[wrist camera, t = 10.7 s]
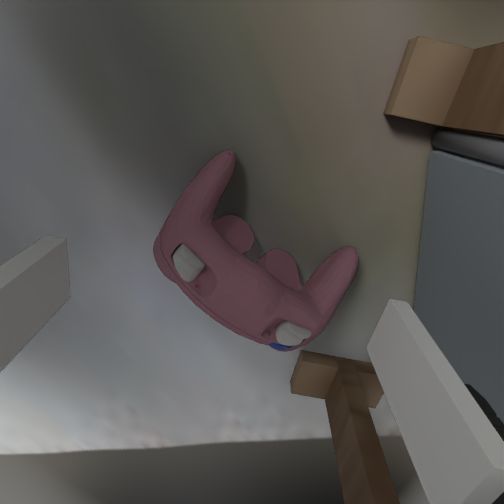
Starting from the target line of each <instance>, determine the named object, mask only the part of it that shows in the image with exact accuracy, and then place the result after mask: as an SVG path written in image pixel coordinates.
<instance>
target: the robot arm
mask: <svg viewBox="0 0 504 504" xmlns="http://www.w3.org/2000/svg"><path fill="white" fill-rule="evenodd" d="M70 297H71V296H70V282H69V268H68V255H67V241H66V239H65V238H59V237H54V236H48V235H45V236H44V237H42V238H41V239H40V240H38V241H37V242H35V243H34V244H32V245H31V246H29V247H28V248H26V249H25V250H23V251H22V252H20V253H19V254H17V255H16V256H14V257H13V258H11V259H10V260H8V261H7V262H5V263H4V264H2V265H1V266H0V372H1V371H2V370H3V369H4V368H5V367H6V366H7V365H8V364H9V363H10V362H11V360H12V359H13V358H14V357H15V356H16V355H17V354H18V353H19V352H20V351H21V350H22V349H23V347H24V346H25V345H26V344H27V343H28V342H29V341H30V340H31V339H32V338H33V337H34V336H35V335H36V333H37V332H38V331H39V330H40V329H41V328H42V327H43V326H44V325H45V324H46V323H47V322H48V320H49V319H50V318H51V317H52V316H53V315H54V314H55V313H56V312H57V311H58V310H59V309H60V308H61V306H62V305H63V304H64V303H65V302H66V301H67V300H68V299H69V298H70ZM366 349H367V352H368V354H369V357H370V359H371V361H372V364H373V366H374V369H375V371H376V374H377V376H378V379H379V381H380V384H381V386H382V388H383V391H384V393H385V396H386V398H387V401H388V403H389V406H390V408H391V411H392V413H393V415H394V418H395V420H396V423H397V425H398V428H399V430H400V433H401V435H402V437H403V440H404V442H405V445H406V447H407V450H408V452H409V455H410V457H411V459H412V462H413V465H414V467H415V469H416V472H417V474H418V477H419V479H420V482H421V484H422V486H423V489H424V492H425V494H426V496H427V499H428V501H429V504H504V424H503V422H502V421H501V420H500V418H499V417H497V416H496V415H497V414H496V413H495V411H494V410H493V409H492V407H491V406H490V404H489V403H488V402H487V400H486V399H485V398H484V397H483V396H482V395H481V394H480V393H479V392H478V391H476V390H475V389H474V388H473V387H472V386H471V385H470V384H464V383H463V382H462V380H461V379H460V378H459V376H458V375H457V373H456V372H455V370H454V369H453V367H452V366H451V365H450V363H449V362H448V360H447V359H446V357H445V356H444V354H443V353H442V352H441V350H440V349H439V347H438V346H437V344H436V343H435V341H434V340H433V338H432V337H431V336H430V334H429V333H428V331H427V330H426V328H425V327H424V325H423V324H422V323H421V321H420V320H419V318H418V317H417V315H416V314H415V312H414V311H413V310H412V308H411V307H410V305H409V304H408V302H405V301H399V300H394V299H389V301H388V303H387V305H386V307H385V310H384V312H383V314H382V316H381V318H380V320H379V322H378V324H377V326H376V328H375V330H374V332H373V334H372V337H371V339H370V341H369V343H368V345H367V347H366Z"/></svg>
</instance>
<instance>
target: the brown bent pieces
mask: <svg viewBox="0 0 504 504" xmlns="http://www.w3.org/2000/svg"><path fill="white" fill-rule="evenodd" d="M384 114H387V115H392V116H396V117H401V118H405V119H410V120H414V121H418V122H423V123H427V124H432V125H436V126H441V127H445V128H450V129H454V130H459V131H465V132H471V133H478V134H484V135H491V136H498V137H504V42H502V43H498V44H494V45H490V46H486V47H482V48H478V49H471V48H467V47H462V46H458V45H454V44H450V43H446V42H441V41H437V40H433V39H429V38H424V37H420V36H418V37H416V38H413V39H411V40H409V42H408V45H407V48H406V51H405V54H404V56H403V59H402V62H401V65H400V68H399V71H398V74H397V77H396V79H395V82H394V85H393V88H392V91H391V94H390V97H389V100H388V102H387V105H386V108H385V111H384ZM290 384H291V393H293V394H299V395H304V396H310V397H315V398H321V399H325V402H326V407H327V413H328V418H329V423H330V428H331V434H332V439H333V444H334V449H335V454H336V460H337V465H338V470H339V475H340V481H341V486H342V491H343V496H344V502H345V504H399V501H398V498H397V495H396V491H395V488H394V485H393V482H392V479H391V476H390V473H389V470H388V467H387V464H386V461H385V458H384V455H383V452H382V448H381V446H380V443H379V439H378V436H377V433H376V430H375V427H374V424H373V421H372V418H371V415H370V412H369V409H368V407H370V408H376V406H377V404H378V402H379V400H380V398H381V396H382V394H383V393H384V391H383V388H382V386H381V384H380V381H379V379H378V376H377V374H376V371H375V369H374V366H373V364H372V363H367V362H361V361H356V360H351V359H346V358H340V357H335V356H330V355H324V354H319V353H314V352H308V351H303V350H301V352H300V355H299V358H298V361H297V364H296V367H295V369H294V372H293V375H292V378H291V381H290Z"/></svg>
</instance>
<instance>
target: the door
mask: <svg viewBox="0 0 504 504" xmlns="http://www.w3.org/2000/svg"><path fill="white" fill-rule="evenodd" d="M432 144H433V146H434V147H436V148H439V149H443V150H437V151H430V153H429V163H428V172H427V182H426V192H425V202H424V211H423V221H422V231H421V241H420V250H419V260H418V270H417V280H416V289H415V299H414V309H413V311H414V312H415V314H416V315H417V317H418V318H419V320H420V321H421V323H422V324H423V325H424V327H425V328H426V330H427V331H428V333H429V334H430V336H431V337H432V338H433V340H434V341H435V343H436V344H437V346H438V347H439V349H440V350H441V352H442V353H443V354H444V356H445V357H446V359H447V360H448V362H449V363H450V365H451V366H452V367H453V369H454V370H455V372H456V373H457V375H458V376H459V378H460V379H461V380H462V382H463V383H464V384H470V385H471V386H472V387H473V388H474V389H475V390H476V391H478V392H479V393H480V394H481V395H482V396H483V397H484V398H485V399H486V400H487V402H488V403H489V404H490V406H491V407H492V409H493V410H494V411H495V413H496V414H497V415H496V416H497V417H499V418H500V420H501V421H502V422H503V424H504V137H498V136H491V135H484V134H478V133H471V132H465V131H458V130H452V129H445V128H442V129H439V130H437V131H436V132H435V133H434V134H433V136H432Z"/></svg>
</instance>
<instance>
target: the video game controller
mask: <svg viewBox="0 0 504 504" xmlns="http://www.w3.org/2000/svg"><path fill="white" fill-rule="evenodd" d="M235 164H236V155H235V153H234V151H232V150H225V151H223V152H221V153H219V154H217V155H216V156H215V157H214V158H212V159H211V160H210V161H209V162H208V163H207V164H206V165H205V166H204V168H203V169H202V170H201V171H200V172H199V173H198V174H197V175H196V177H195V178H194V179H193V180H192V182H191V183H190V184H189V185H188V186H187V187H186V189H185V190H184V191H183V193H182V195H181V196H180V198H179V199H178V201H177V202H176V204H175V206H174V208H173V209H172V211H171V213H170V215H169V216H168V218H167V220H166V221H165V223H164V225H163V227H162V229H161V231H160V233H159V235H158V236H157V238H156V240H155V242H154V247H153V253H154V257H155V260H156V263H157V265H158V267H159V268H160V270H161V271H162V272H163V274H164V275H165V276H166V277H167V278H169V279H170V280H171V281H173V282H175V283H177V285H178V286H179V287H180V288H181V290H182V291H183V292H184V293H185V294H186V295H187V296H188V297H189V298H190V299H191V300H192V302H193V303H194V304H195V305H196V306H198V307H199V308H200V309H201V310H203V311H204V312H205V313H206V314H207V315H209V316H210V317H211V318H213V319H214V320H216V321H217V322H219V323H220V324H221V325H223V326H225V327H226V328H228V329H230V330H232V331H233V332H235V333H237V334H239V335H241V336H243V337H246V338H248V339H251V340H253V341H255V342H258V343H261V344H265V345H269V346H270V347H272V348H274V349H276V350H278V351H291V350H294V349H296V348H298V347H301V346H303V345H306V344H308V343H309V342H311V341H312V340H313V339H314V338H316V337H317V336H318V335H319V334H320V333H321V332H322V331H323V330H324V328H325V327H326V325H327V324H328V323H329V321H330V319H331V317H332V316H333V314H334V312H335V310H336V309H337V307H338V305H339V303H340V301H341V300H342V298H343V296H344V294H345V292H346V291H347V289H348V287H349V285H350V283H351V282H352V280H353V278H354V275H355V273H356V271H357V267H358V253H357V251H356V249H355V248H354V247H349V246H348V247H344V248H341V249H340V250H338V251H336V252H334V253H333V254H332V255H331V256H329V257H328V258H327V259H326V260H325V261H324V262H323V263H322V264H321V265H320V266H319V268H318V269H317V270H316V271H315V272H314V273H313V275H312V276H311V277H310V278H309V280H308V281H307V282H306V284H305V285H304V286H302V285H301V284H300V280H299V274H298V268H297V264H296V262H295V260H294V259H293V258H292V256H291V255H290V254H288V253H287V252H285V251H283V250H281V249H272V250H270V251H269V252H267V253H266V254H265V255H263V256H262V257H261V258H260V259H259V260H258V261H257V262H256V263H255V262H254V261H252V260H250V259H249V258H247V257H246V256H244V255H243V254H245V253H246V252H248V251H249V250H250V249H251V248H252V246H253V244H254V234H253V232H252V230H251V228H250V226H249V225H248V224H247V223H246V222H245V221H244V220H243V219H241V218H239V217H238V216H235V215H227V216H224V217H222V218H219V219H216V220H213V216H214V212H215V209H216V207H217V204H218V201H219V199H220V197H221V196H222V194H223V192H224V190H225V188H226V186H227V184H228V183H229V181H230V179H231V177H232V174H233V171H234V168H235Z"/></svg>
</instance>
